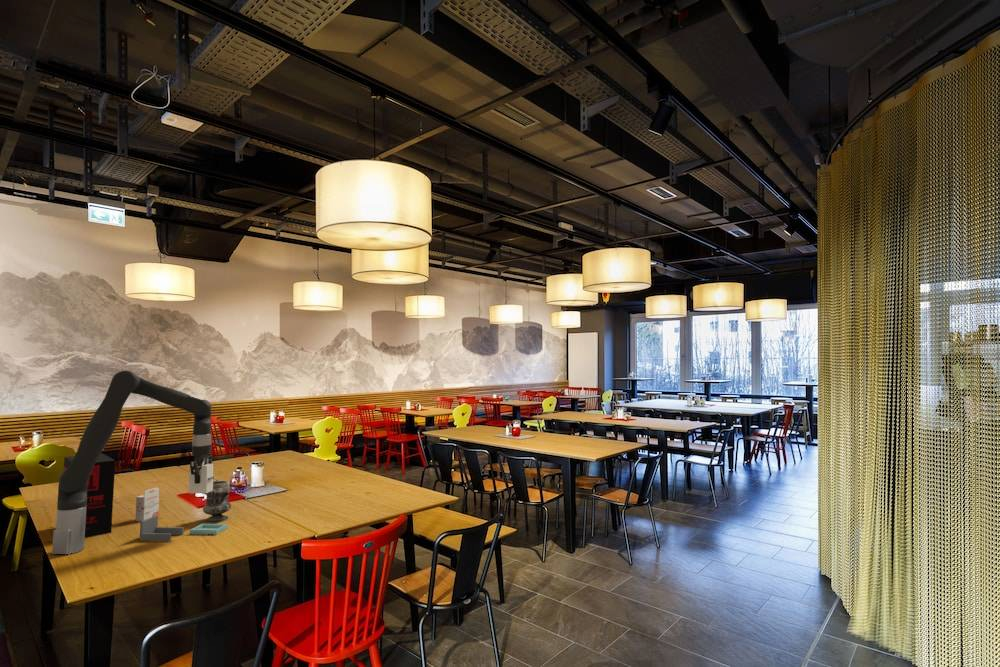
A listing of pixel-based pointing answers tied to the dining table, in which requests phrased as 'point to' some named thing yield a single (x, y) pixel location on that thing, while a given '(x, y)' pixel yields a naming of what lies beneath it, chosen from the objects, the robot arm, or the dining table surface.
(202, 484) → the cream upright block
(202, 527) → the tray
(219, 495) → the apothecary jar
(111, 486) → the product box
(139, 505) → the ink cartridge box
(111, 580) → the dining table surface
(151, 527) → the bay
